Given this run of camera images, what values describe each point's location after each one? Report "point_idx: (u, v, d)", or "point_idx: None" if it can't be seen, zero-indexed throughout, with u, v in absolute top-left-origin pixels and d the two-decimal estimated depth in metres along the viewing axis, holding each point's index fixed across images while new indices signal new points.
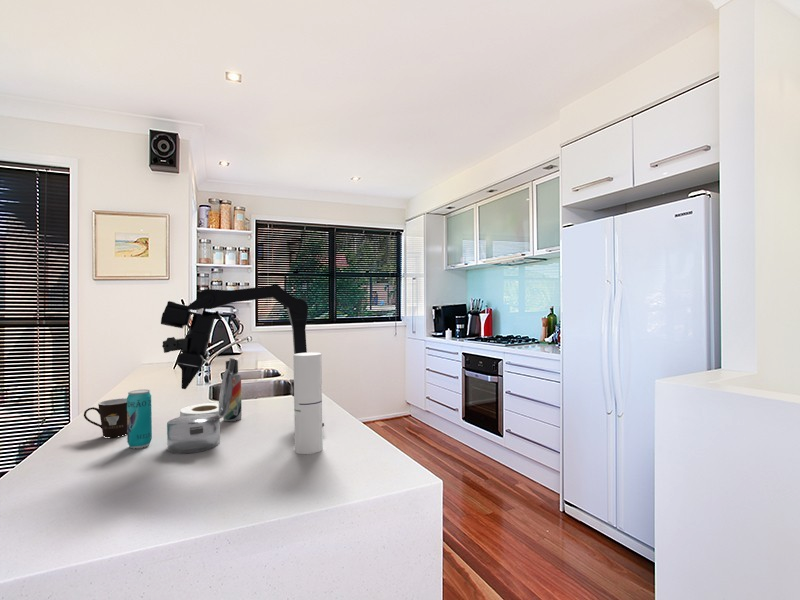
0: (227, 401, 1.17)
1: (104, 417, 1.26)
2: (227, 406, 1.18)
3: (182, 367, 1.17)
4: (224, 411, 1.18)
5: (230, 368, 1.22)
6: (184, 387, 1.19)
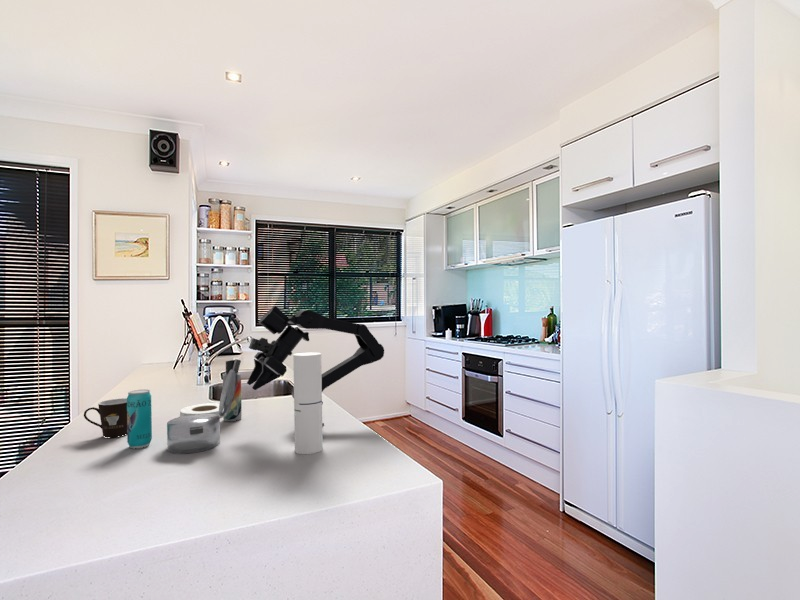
0: (229, 401, 1.17)
1: (104, 417, 1.26)
2: (228, 406, 1.18)
3: (264, 369, 1.22)
4: (225, 411, 1.18)
5: (235, 369, 1.23)
6: (255, 388, 1.22)
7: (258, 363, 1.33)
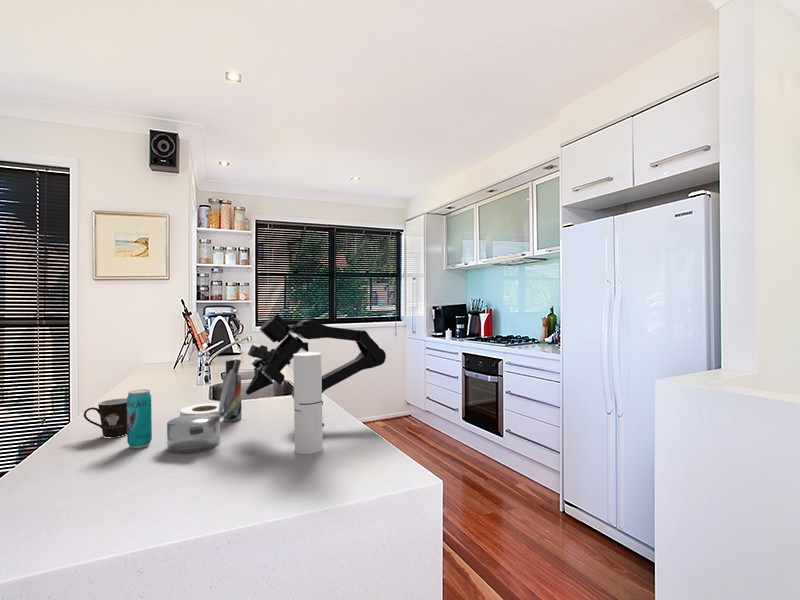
0: (229, 401, 1.17)
1: (104, 417, 1.26)
2: (228, 406, 1.18)
3: (259, 375, 1.25)
4: (225, 411, 1.18)
5: (235, 369, 1.23)
6: (248, 393, 1.25)
7: None
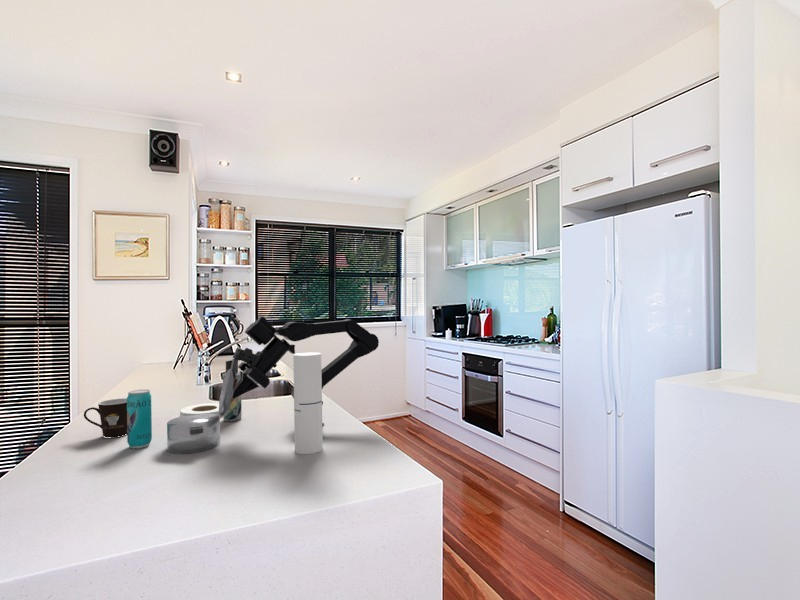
0: (228, 401, 1.17)
1: (104, 417, 1.26)
2: (227, 406, 1.18)
3: (244, 378, 1.23)
4: (224, 411, 1.18)
5: (233, 368, 1.23)
6: (233, 396, 1.23)
7: None
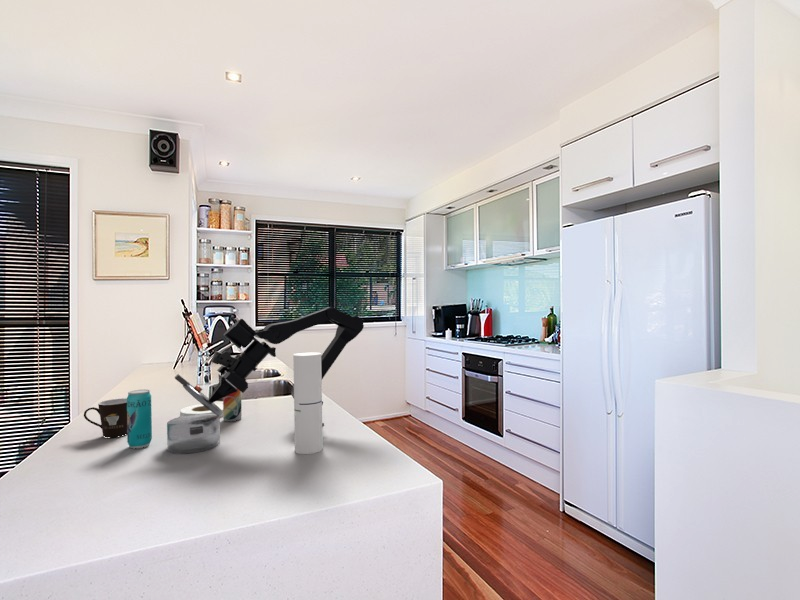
0: (209, 407, 1.15)
1: (104, 417, 1.26)
2: (213, 409, 1.16)
3: (222, 382, 1.20)
4: (216, 413, 1.17)
5: (183, 384, 1.17)
6: (211, 401, 1.20)
7: None
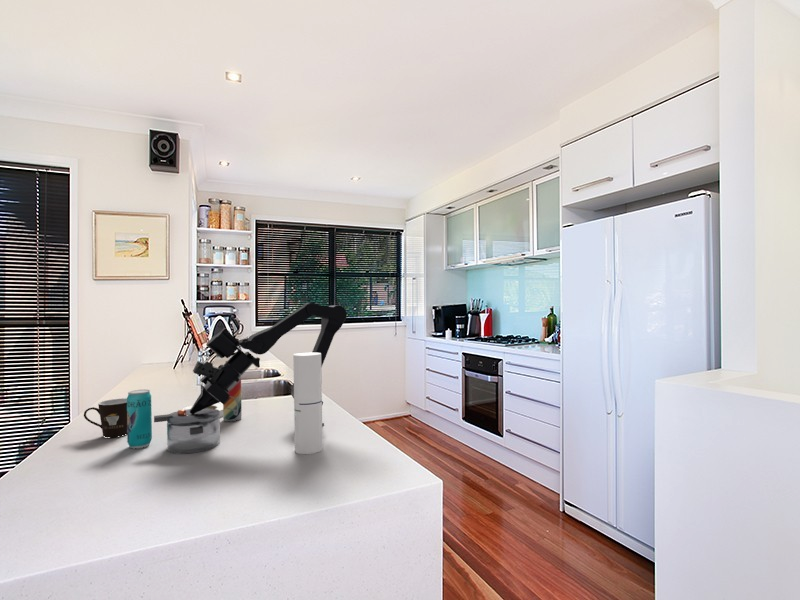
0: (201, 421, 1.14)
1: (104, 417, 1.26)
2: (207, 419, 1.15)
3: (204, 393, 1.18)
4: (213, 418, 1.17)
5: (165, 420, 1.14)
6: (192, 412, 1.18)
7: None
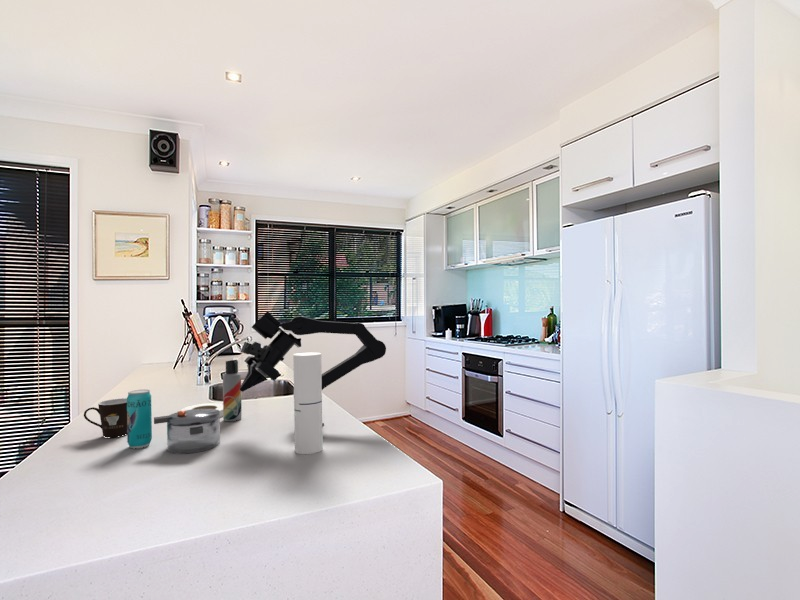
0: (201, 421, 1.14)
1: (104, 417, 1.26)
2: (207, 419, 1.15)
3: (253, 372, 1.26)
4: (213, 418, 1.17)
5: (165, 421, 1.14)
6: (242, 389, 1.26)
7: None
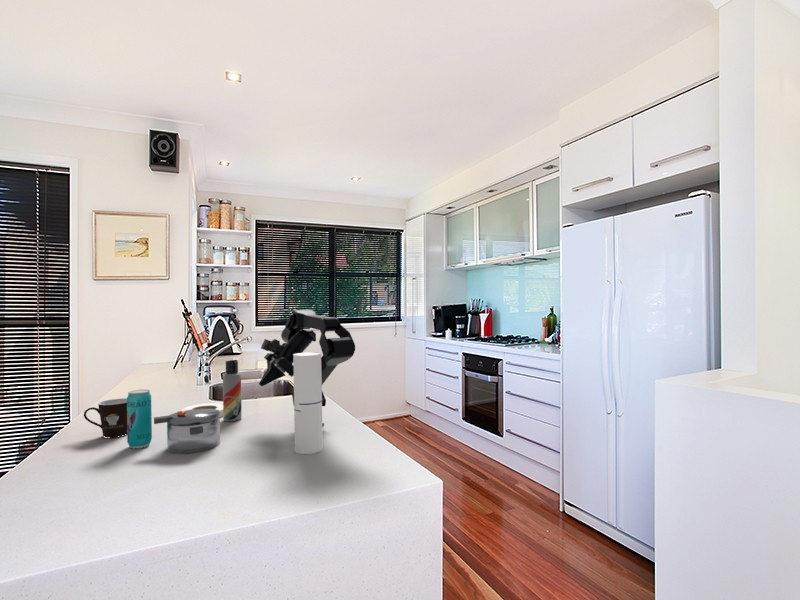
0: (201, 421, 1.14)
1: (104, 417, 1.26)
2: (207, 419, 1.15)
3: (272, 368, 1.32)
4: (213, 418, 1.17)
5: (165, 421, 1.14)
6: (262, 384, 1.32)
7: None
